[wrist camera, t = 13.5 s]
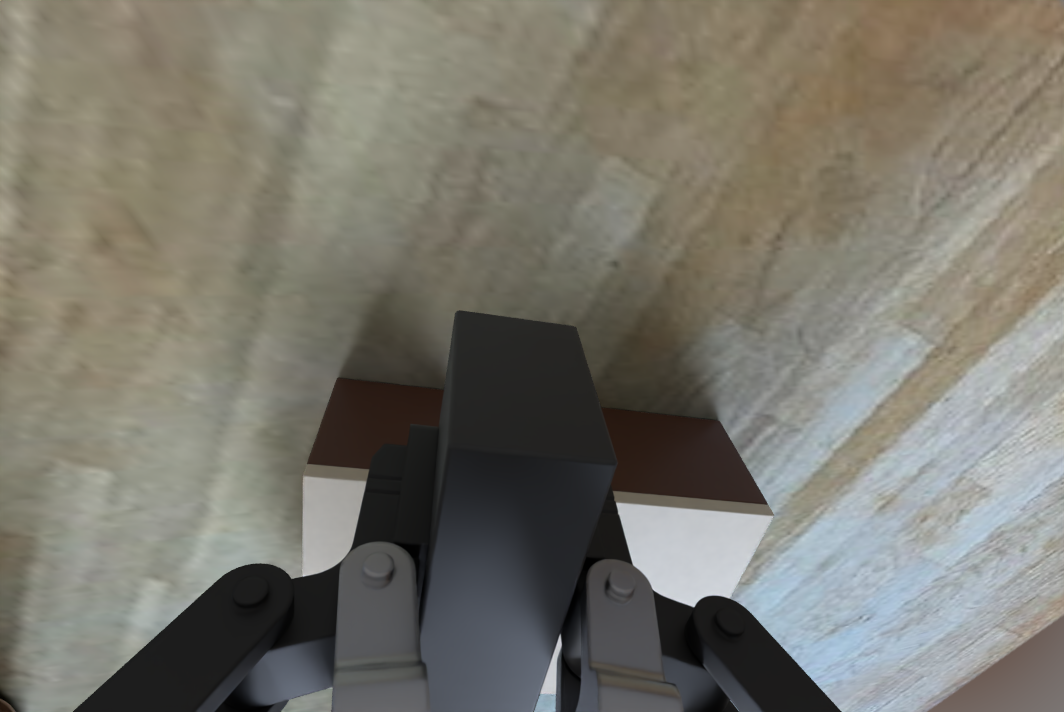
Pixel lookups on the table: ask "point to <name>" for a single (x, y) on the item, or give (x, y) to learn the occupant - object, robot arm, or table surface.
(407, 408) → the cake slice
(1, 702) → the coffee cup
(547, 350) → the knife
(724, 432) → the cake
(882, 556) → the table surface
